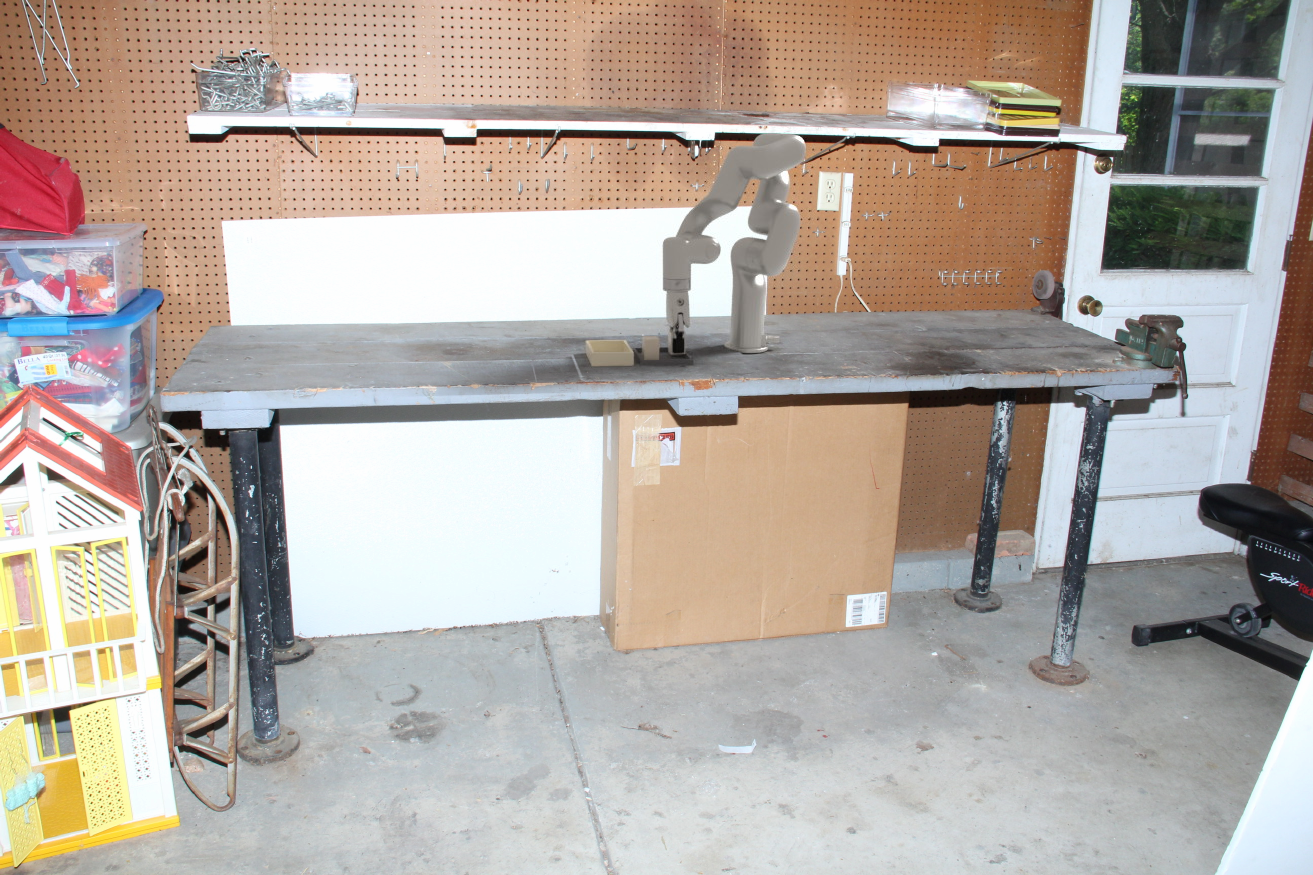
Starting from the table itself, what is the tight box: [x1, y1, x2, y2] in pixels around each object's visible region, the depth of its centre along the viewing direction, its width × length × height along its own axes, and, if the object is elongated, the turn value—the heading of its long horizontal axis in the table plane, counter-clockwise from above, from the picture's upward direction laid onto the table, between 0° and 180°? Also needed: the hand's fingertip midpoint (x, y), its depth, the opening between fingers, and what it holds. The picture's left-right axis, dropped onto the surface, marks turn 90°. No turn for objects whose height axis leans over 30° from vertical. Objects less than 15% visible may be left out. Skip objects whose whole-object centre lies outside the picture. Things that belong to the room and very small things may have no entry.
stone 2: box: [667, 329, 686, 354], centre depth 267 cm, size 4×4×6 cm
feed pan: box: [631, 346, 694, 366], centre depth 266 cm, size 14×15×2 cm
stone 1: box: [641, 335, 660, 360], centre depth 263 cm, size 4×4×6 cm
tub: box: [585, 339, 635, 367], centre depth 263 cm, size 11×15×4 cm
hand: (676, 350), depth 268 cm, fingers closed on stone 2, 4 cm apart
